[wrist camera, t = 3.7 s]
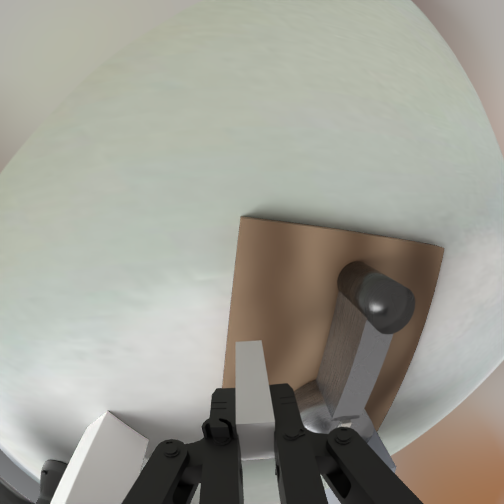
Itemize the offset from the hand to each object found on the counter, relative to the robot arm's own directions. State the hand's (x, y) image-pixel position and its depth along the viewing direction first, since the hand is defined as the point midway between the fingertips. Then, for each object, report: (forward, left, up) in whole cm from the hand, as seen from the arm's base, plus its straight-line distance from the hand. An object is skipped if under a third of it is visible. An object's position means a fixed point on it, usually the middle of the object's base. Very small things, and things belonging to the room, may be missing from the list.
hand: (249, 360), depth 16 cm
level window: (+15, -14, -5) cm, 21 cm away
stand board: (+8, -4, -7) cm, 11 cm away
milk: (-13, -18, -7) cm, 24 cm away
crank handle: (+8, -3, -5) cm, 9 cm away
